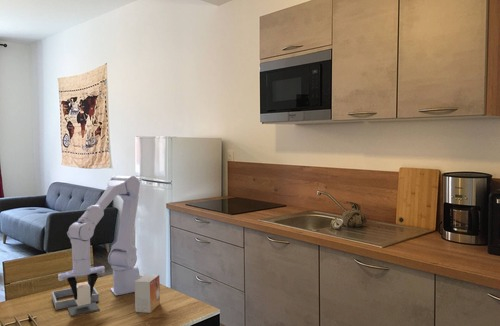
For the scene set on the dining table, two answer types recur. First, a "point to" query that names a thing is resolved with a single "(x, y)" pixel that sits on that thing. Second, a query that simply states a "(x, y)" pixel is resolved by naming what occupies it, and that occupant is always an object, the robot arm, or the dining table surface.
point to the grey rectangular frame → (71, 301)
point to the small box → (147, 293)
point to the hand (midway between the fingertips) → (82, 297)
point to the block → (83, 294)
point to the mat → (83, 309)
